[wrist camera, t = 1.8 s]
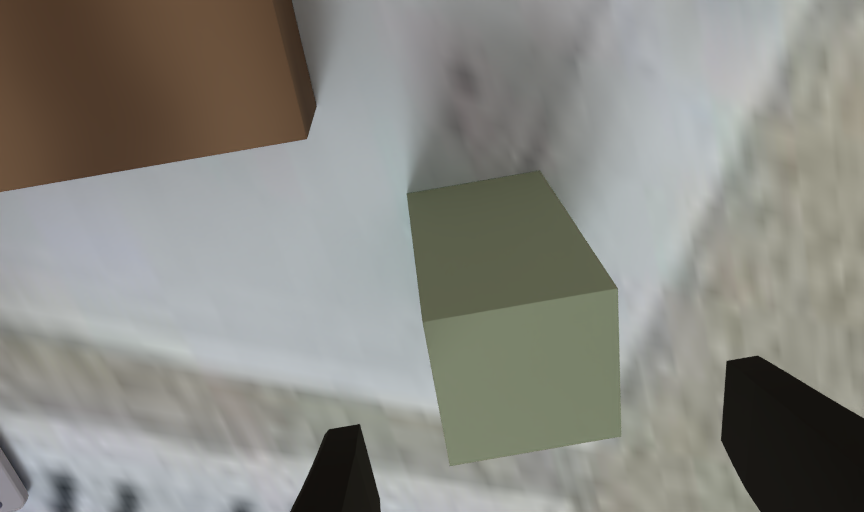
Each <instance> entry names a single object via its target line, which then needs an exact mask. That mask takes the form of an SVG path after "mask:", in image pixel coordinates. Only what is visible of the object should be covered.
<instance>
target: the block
mask: <svg viewBox="0 0 864 512" xmlns="http://www.w3.org/2000/svg"><path fill="white" fill-rule="evenodd" d="M407 200H408V208H409V216H410V224H411V232H412V240H413V248H414V256H415V265H416V273H417V281H418V289H419V297H420V305H421V313H422V321H423V327H424V332H425V337H426V343H427V348H428V353H429V358H430V364H431V369H432V374H433V380H434V385H435V390H436V395H437V401H438V406H439V411H440V416H441V422H442V427H443V432H444V437H445V443H446V448H447V453H448V458H449V464H450V466H453V465H459V464H465V463H471V462H476V461H482V460H488V459H494V458H499V457H505V456H511V455H517V454H522V453H528V452H534V451H540V450H546V449H551V448H557V447H563V446H569V445H574V444H580V443H586V442H592V441H597V440H603V439H609V438H615V437H621V404H620V362H619V320H618V288H617V287H616V285H615V283H614V282H613V280H612V279H611V277H610V276H609V274H608V273H607V271H606V270H605V268H604V267H603V265H602V264H601V262H600V261H599V259H598V258H597V256H596V255H595V253H594V252H593V250H592V249H591V247H590V246H589V244H588V243H587V241H586V240H585V238H584V237H583V235H582V234H581V232H580V231H579V229H578V228H577V226H576V225H575V223H574V222H573V220H572V218H571V217H570V215H569V214H568V212H567V211H566V209H565V208H564V206H563V205H562V203H561V202H560V200H559V199H558V197H557V196H556V194H555V193H554V191H553V190H552V188H551V187H550V185H549V184H548V182H547V181H546V179H545V178H544V176H543V175H542V173H541V172H540V171H535V172H529V173H523V174H517V175H512V176H506V177H500V178H494V179H488V180H483V181H477V182H471V183H465V184H460V185H454V186H448V187H442V188H436V189H431V190H425V191H419V192H413V193H408V194H407Z"/></svg>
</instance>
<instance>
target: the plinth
mask: <svg viewBox="0 0 864 512" xmlns="http://www.w3.org/2000/svg"><path fill="white" fill-rule="evenodd" d="M316 107H317V106H316V102H315V98H314V93H313V89H312V85H311V81H310V76H309V72H308V68H307V64H306V60H305V55H304V51H303V47H302V43H301V38H300V34H299V30H298V26H297V22H296V17H295V13H294V9H293V5H292V0H0V192H3V191H9V190H15V189H21V188H26V187H32V186H38V185H44V184H49V183H55V182H61V181H67V180H73V179H78V178H84V177H90V176H96V175H102V174H107V173H113V172H119V171H125V170H130V169H136V168H142V167H148V166H154V165H159V164H165V163H171V162H177V161H183V160H188V159H194V158H200V157H206V156H211V155H217V154H223V153H229V152H235V151H240V150H246V149H252V148H258V147H264V146H269V145H275V144H281V143H287V142H292V141H298V140H304V139H307V137H308V134H309V130H310V127H311V124H312V120H313V117H314V113H315V110H316Z"/></svg>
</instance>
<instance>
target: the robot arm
mask: <svg viewBox="0 0 864 512" xmlns="http://www.w3.org/2000/svg"><path fill="white" fill-rule="evenodd" d="M721 441H722V443H723V445H724V447H725V449H726V451H727V453H728V456H729V458H730V460H731V462H732V464H733V466H734V468H735V470H736V472H737V474H738V476H739V477H740V479H741V481H742V483H743V485H744V487H745V489H746V490H747V492H748V493H749V495H750V496H751V498H752V500H753V501H754V503H755V504H756V506H757V507H758V509H759V510H760V512H864V418H862V417H860V416H859V415H857V414H855V413H854V412H852V411H850V410H848V409H847V408H845V407H843V406H841V405H840V404H838V403H836V402H835V401H833V400H831V399H830V398H828V397H826V396H825V395H823V394H821V393H820V392H818V391H816V390H815V389H813V388H811V387H810V386H808V385H806V384H805V383H803V382H801V381H800V380H798V379H797V378H795V377H793V376H792V375H790V374H788V373H787V372H785V371H783V370H782V369H780V368H778V367H777V366H775V365H773V364H772V363H770V362H768V361H766V360H765V359H763V358H761V357H759V356H753V357H747V358H741V359H735V360H730V361H727V363H726V377H725V391H724V406H723V420H722V434H721ZM28 496H29V495H28V492H27V490H26V488H25V487H24V485H23V484H22V482H21V480H20V479H19V477H18V475H17V474H16V472H15V471H14V469H13V467H12V466H11V464H10V462H9V461H8V459H7V458H6V456H5V454H4V453H3V451H2V449H1V448H0V512H10V511H16V510H19V509H21V508H22V507H23V506H24V504H25V503H26V501H27V499H28ZM290 512H381V510H380V498H379V494H378V490H377V487H376V483H375V479H374V475H373V472H372V468H371V464H370V460H369V457H368V453H367V449H366V445H365V441H364V438H363V434H362V430H361V426H360V424H358V425H352V426H346V427H340V428H334V429H329V430H328V431H327V433H326V434H325V435H324V438H323V440H322V443H321V445H320V448H319V450H318V453H317V455H316V458H315V460H314V462H313V465H312V467H311V469H310V471H309V474H308V476H307V478H306V480H305V482H304V485H303V487H302V489H301V491H300V493H299V495H298V497H297V499H296V501H295V503H294V505H293V507H292V509H291V511H290Z"/></svg>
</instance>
